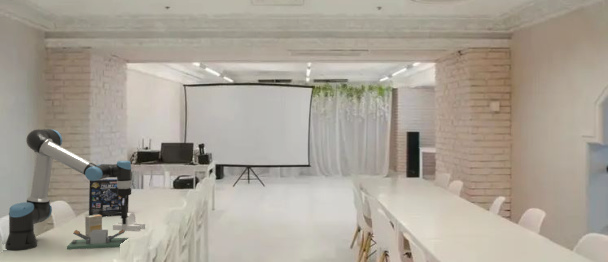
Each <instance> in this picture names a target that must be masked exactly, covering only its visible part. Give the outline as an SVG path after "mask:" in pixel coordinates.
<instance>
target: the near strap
mask: <svg viewBox="0 0 608 262" xmlns="http://www.w3.org/2000/svg"><path fill="white" fill-rule="evenodd" d="M73 235H75V236H78V237H79V238H80V239H85V240H87V239H90V237H87V236H85V234H83V233H82V232H81V231H80V230H77V229H75V230H74V231H73Z"/></svg>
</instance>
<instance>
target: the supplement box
mask: <svg viewBox="0 0 608 262" xmlns="http://www.w3.org/2000/svg"><path fill="white" fill-rule="evenodd" d="M84 218H85V219H84V220H85V223H84V224H85V228H84V229H85V234H84V235H85V236H87V237H90V233H91V232H92V231H93V230H103V217H102V215H99V214H97V215H90V216H89V215H85V216H84Z"/></svg>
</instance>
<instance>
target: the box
mask: <svg viewBox="0 0 608 262" xmlns="http://www.w3.org/2000/svg"><path fill="white" fill-rule="evenodd" d="M117 189H118V188H117V178H104V179H99V180H96V181H91V180H89V191H88V192H89V193H88V216H90V215H97V214H99V215H102V218H103V217H106V216H107V217H118V216H119V217H121V202H120V199H121V198H122V196H119V195H117ZM129 196H130V195H127V198H128V202H129ZM127 213H129V209H128V210H127ZM107 217H106V218H107Z"/></svg>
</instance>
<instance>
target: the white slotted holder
mask: <svg viewBox="0 0 608 262" xmlns="http://www.w3.org/2000/svg"><path fill="white" fill-rule="evenodd" d="M127 214H128V215H127V216H128V217H127V230H125V232H140V231H141V230H145V229H146V223H145V222H136V221H137V220H136V215H135V213H133V212H128V213H127ZM121 230H122V221H121V222H120V221H119V222H117V223H113V224H112V231H121Z"/></svg>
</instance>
